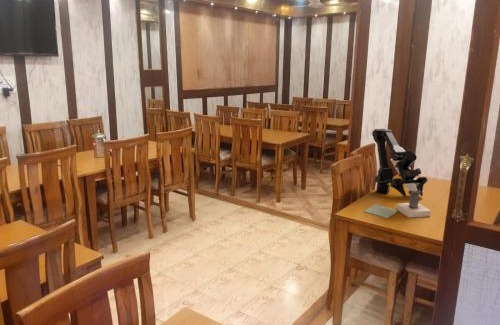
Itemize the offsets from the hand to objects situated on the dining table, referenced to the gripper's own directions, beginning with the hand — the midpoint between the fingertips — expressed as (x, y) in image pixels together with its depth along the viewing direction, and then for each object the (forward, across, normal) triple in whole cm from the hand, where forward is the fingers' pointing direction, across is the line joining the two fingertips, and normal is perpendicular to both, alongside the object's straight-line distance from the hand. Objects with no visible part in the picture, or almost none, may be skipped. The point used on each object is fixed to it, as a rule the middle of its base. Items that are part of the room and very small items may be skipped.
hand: (413, 196), depth 203 cm
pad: (+4, -16, +8) cm, 19 cm away
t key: (+7, 0, +6) cm, 9 cm away
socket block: (+7, 0, +6) cm, 9 cm away
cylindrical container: (-10, +15, +19) cm, 26 cm away
